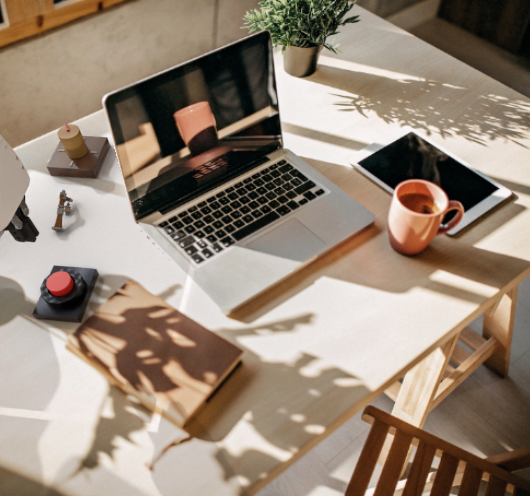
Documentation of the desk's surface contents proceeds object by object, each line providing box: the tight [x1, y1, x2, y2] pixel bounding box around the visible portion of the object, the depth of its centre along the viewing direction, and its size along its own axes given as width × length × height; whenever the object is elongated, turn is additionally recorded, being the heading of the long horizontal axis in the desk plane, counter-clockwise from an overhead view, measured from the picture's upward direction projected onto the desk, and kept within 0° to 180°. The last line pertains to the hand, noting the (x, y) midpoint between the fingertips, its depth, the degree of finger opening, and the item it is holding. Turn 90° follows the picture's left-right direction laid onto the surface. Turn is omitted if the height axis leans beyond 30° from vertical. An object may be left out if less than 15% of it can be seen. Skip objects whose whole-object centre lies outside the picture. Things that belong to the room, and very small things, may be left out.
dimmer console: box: [46, 135, 111, 179], centre depth 105 cm, size 10×10×3 cm
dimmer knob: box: [56, 123, 88, 159], centre depth 102 cm, size 4×4×6 cm
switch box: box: [32, 264, 100, 324], centre depth 85 cm, size 8×10×4 cm
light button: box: [46, 271, 74, 297], centre depth 83 cm, size 4×4×2 cm
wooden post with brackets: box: [50, 189, 74, 232], centre depth 96 cm, size 2×8×4 cm, turn 174°
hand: (27, 237), depth 73 cm, fingers closed
